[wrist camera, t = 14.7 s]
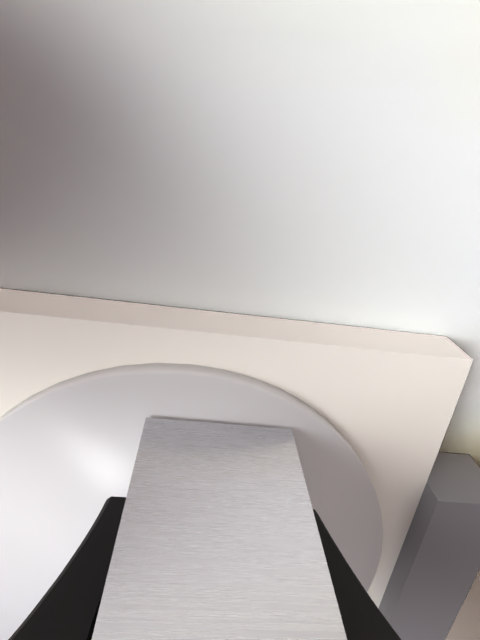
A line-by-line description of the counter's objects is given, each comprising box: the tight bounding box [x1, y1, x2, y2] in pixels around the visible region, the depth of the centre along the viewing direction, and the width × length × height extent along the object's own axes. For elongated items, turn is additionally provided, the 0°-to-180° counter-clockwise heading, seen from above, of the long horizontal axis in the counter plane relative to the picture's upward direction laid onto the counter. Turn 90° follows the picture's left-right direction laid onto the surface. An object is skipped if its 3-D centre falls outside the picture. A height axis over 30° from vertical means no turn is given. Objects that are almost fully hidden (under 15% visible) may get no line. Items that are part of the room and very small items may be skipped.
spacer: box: [91, 417, 347, 640], centre depth 10 cm, size 4×4×6 cm
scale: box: [0, 288, 480, 640], centre depth 15 cm, size 16×19×2 cm
